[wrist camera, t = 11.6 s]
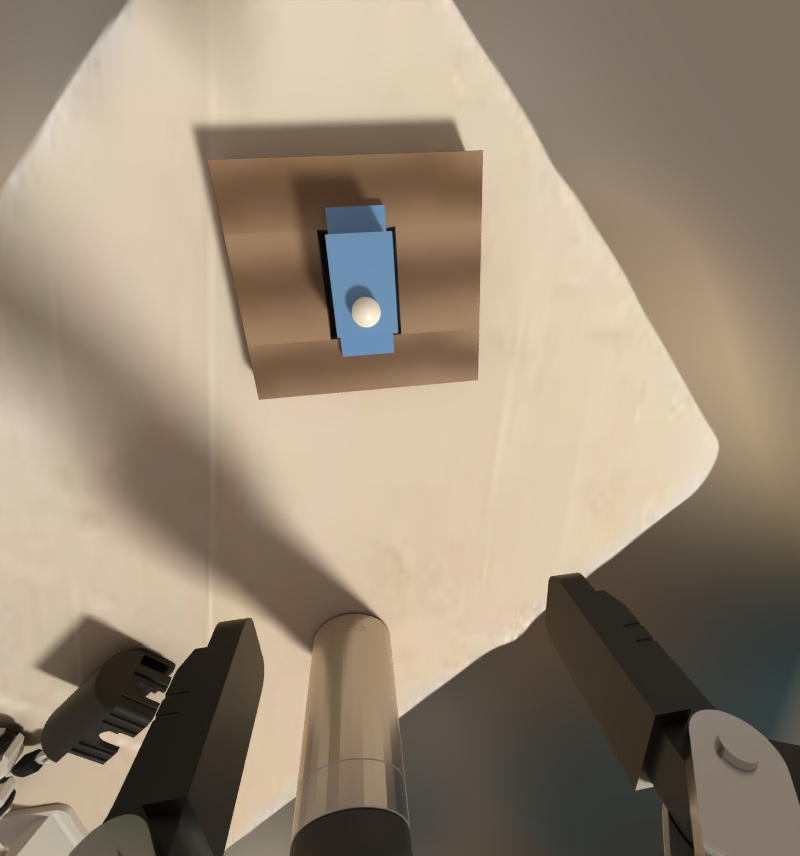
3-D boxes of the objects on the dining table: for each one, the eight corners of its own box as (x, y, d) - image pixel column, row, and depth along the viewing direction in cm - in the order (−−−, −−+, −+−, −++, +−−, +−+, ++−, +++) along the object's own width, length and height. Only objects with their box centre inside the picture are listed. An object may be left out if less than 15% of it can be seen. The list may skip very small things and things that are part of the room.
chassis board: (467, 371, 34) (477, 380, 31) (267, 389, 32) (259, 399, 29) (470, 163, 28) (482, 150, 25) (223, 172, 26) (207, 159, 23)
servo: (328, 216, 28) (318, 192, 20) (380, 213, 28) (391, 189, 21) (343, 348, 32) (340, 370, 24) (390, 345, 32) (401, 365, 24)
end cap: (123, 634, 40) (81, 698, 34) (180, 661, 43) (151, 726, 37) (72, 683, 42) (23, 753, 36) (130, 707, 45) (93, 776, 38)
